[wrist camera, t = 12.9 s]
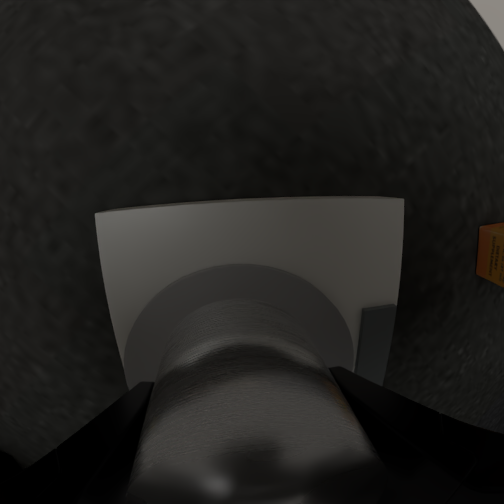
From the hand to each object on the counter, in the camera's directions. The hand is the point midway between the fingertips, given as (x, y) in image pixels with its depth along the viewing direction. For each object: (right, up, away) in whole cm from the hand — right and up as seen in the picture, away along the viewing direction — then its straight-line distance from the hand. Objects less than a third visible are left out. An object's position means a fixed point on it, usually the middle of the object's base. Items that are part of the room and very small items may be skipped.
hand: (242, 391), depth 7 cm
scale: (+1, -1, +7) cm, 7 cm away
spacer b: (0, 0, +1) cm, 1 cm away
